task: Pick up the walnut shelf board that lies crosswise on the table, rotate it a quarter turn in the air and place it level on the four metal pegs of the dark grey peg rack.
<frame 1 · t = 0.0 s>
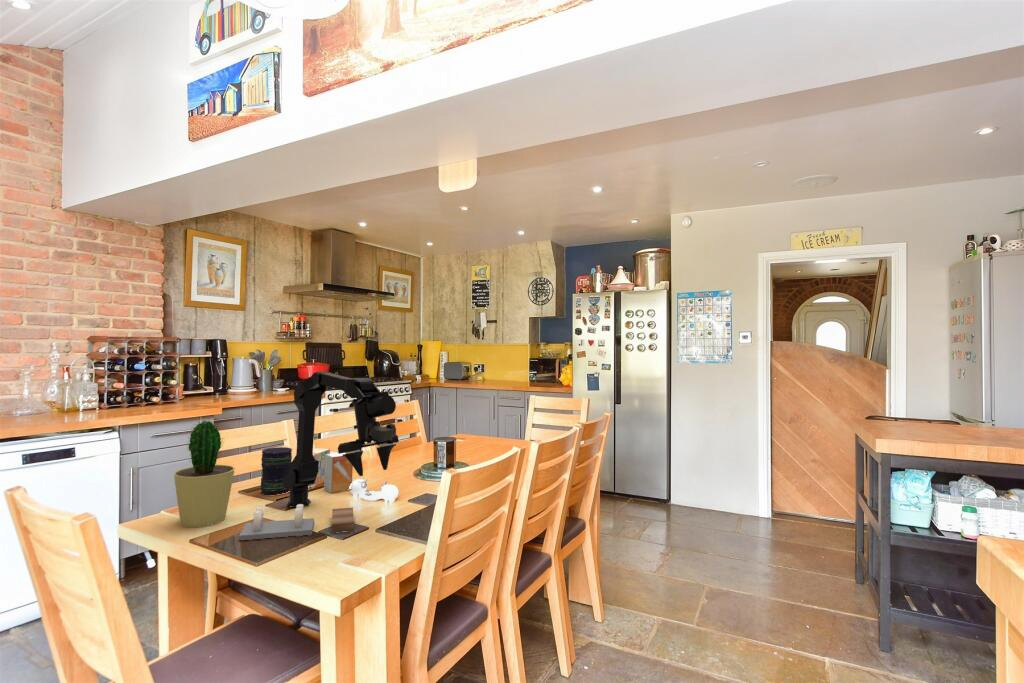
hand: (373, 472, 147), 15 cm above the table, tool pointing down, fingers open, 9 cm apart
patterned carton: (319, 481, 195), on the table
storage jar: (275, 492, 179), on the table
potted cactus: (203, 521, 148), on the table
small box: (338, 490, 183), on the table
shelf board: (342, 525, 148), on the table
peg rack: (278, 531, 140), on the table
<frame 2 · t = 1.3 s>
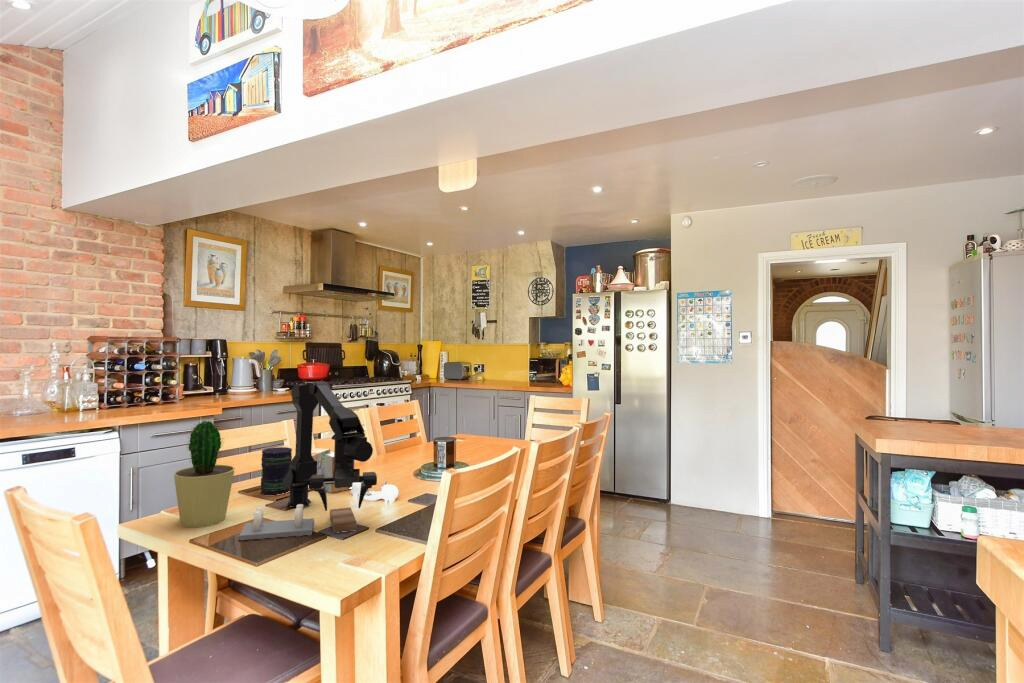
hand: (342, 509, 148), 4 cm above the table, tool pointing down, fingers open, 9 cm apart
nothing on the table moved.
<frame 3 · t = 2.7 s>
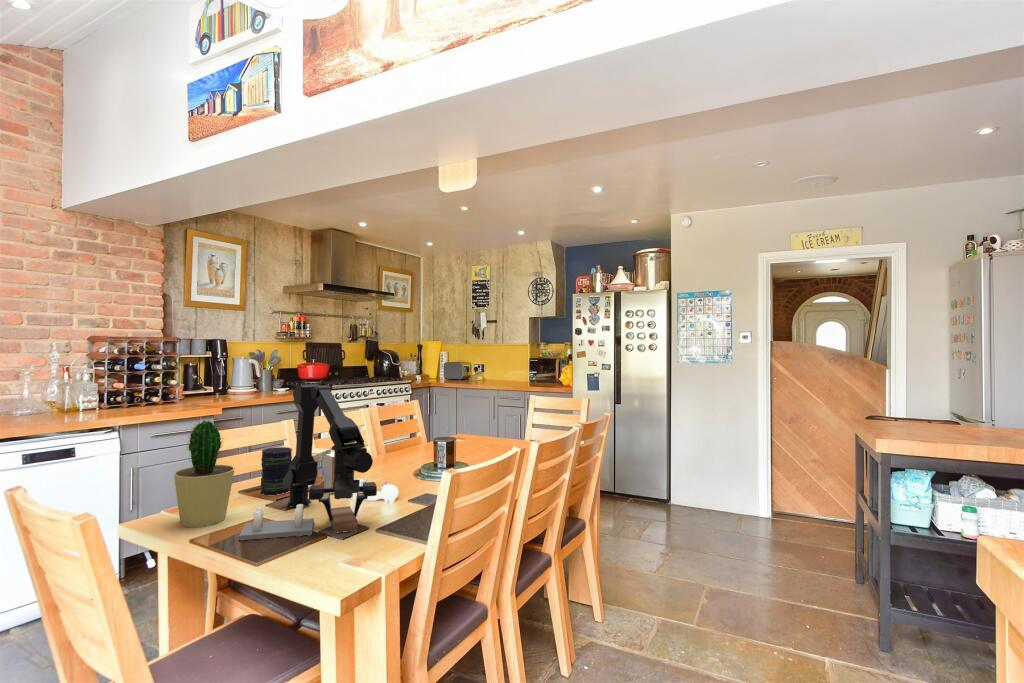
hand: (342, 520, 148), 1 cm above the table, tool pointing down, fingers closed on shelf board, 6 cm apart
shelf board: (342, 524, 148), on the table, touching gripper
everything else where it was.
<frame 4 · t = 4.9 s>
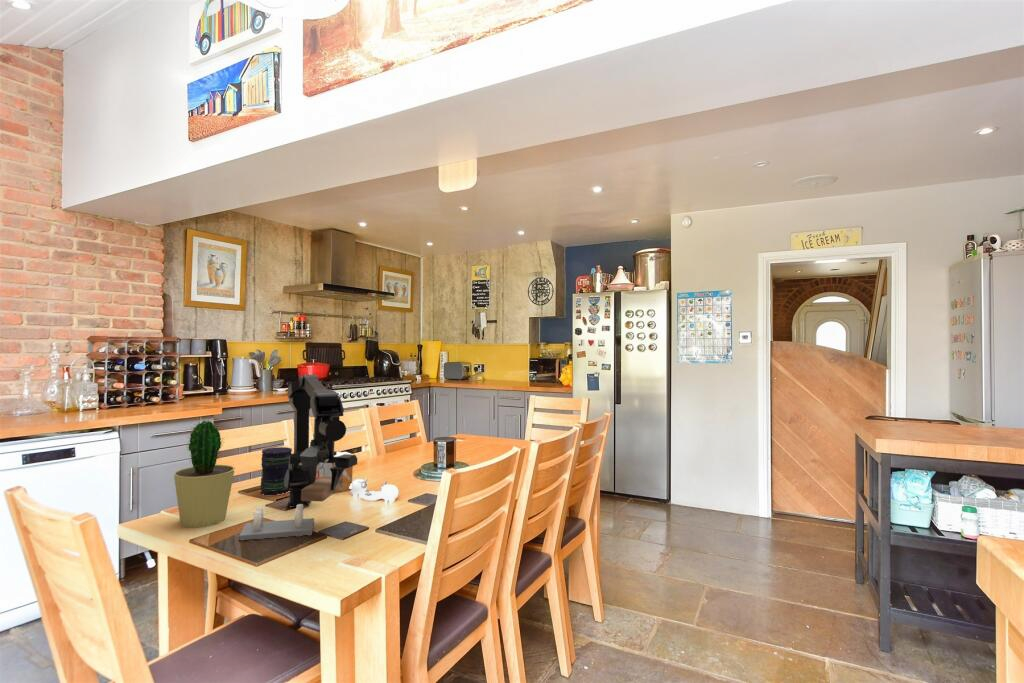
hand: (322, 489, 146), 11 cm above the table, tool pointing down, fingers closed on shelf board, 6 cm apart
shelf board: (322, 493, 145), point 9 cm above the table, touching gripper
everything else where it was.
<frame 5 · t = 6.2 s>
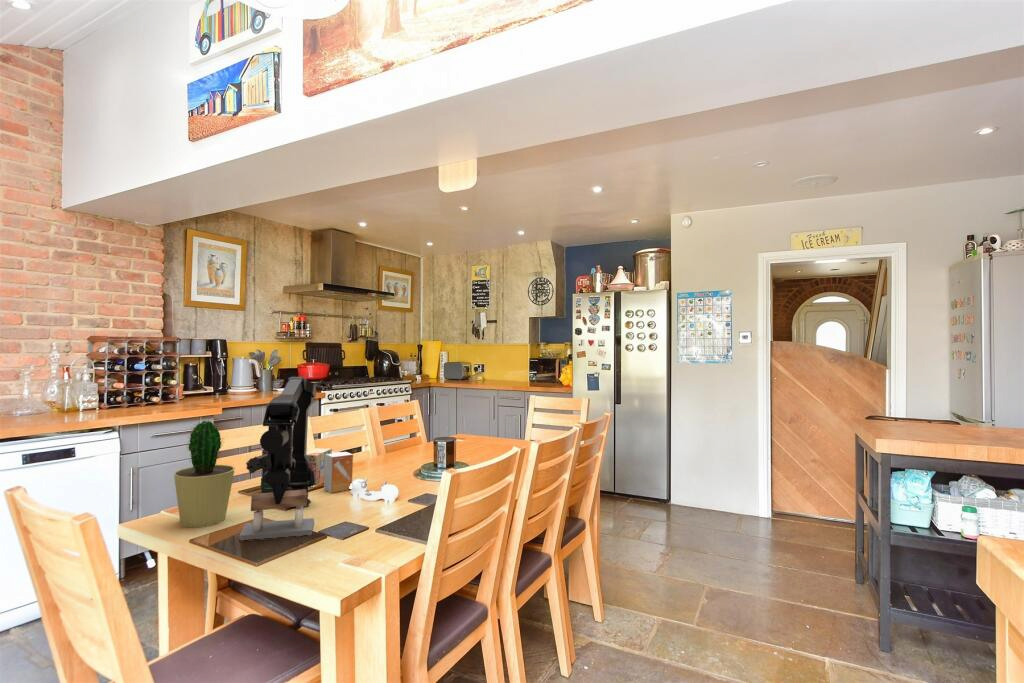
hand: (279, 500, 141), 9 cm above the table, tool pointing down, fingers closed on shelf board, 6 cm apart
shelf board: (279, 505, 141), point 7 cm above the table, touching gripper
everything else where it was.
when the fingers open (9 cm above the table, at t = 7.3 s): shelf board stays where it is, resting on peg rack.
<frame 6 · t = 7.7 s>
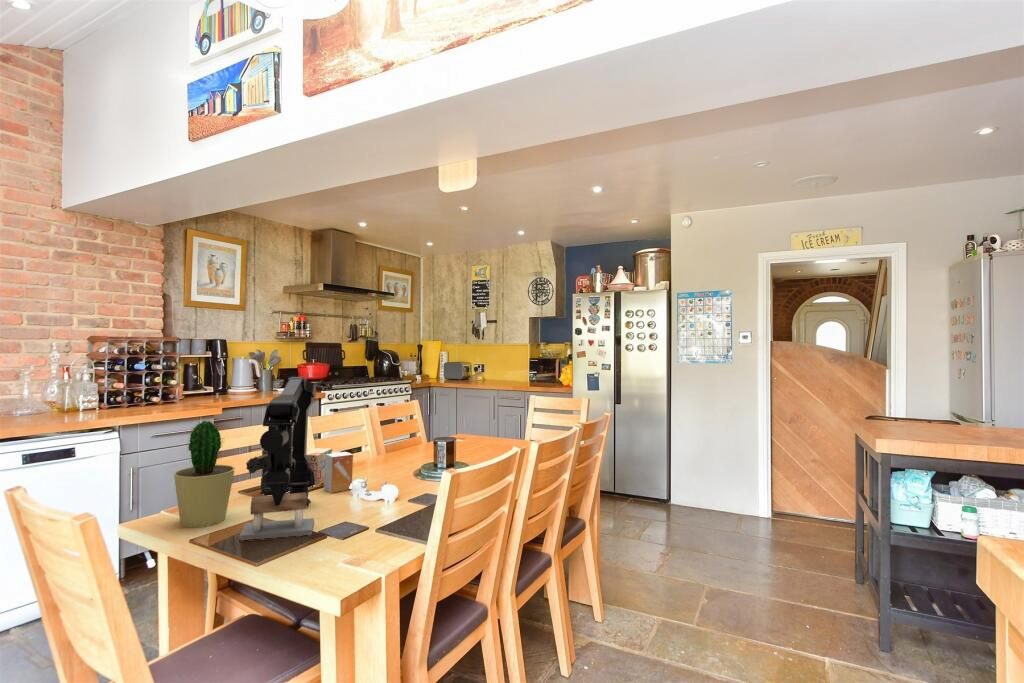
hand: (279, 500, 141), 9 cm above the table, tool pointing down, fingers open, 9 cm apart
shelf board: (279, 508, 141), point 6 cm above the table, touching peg rack
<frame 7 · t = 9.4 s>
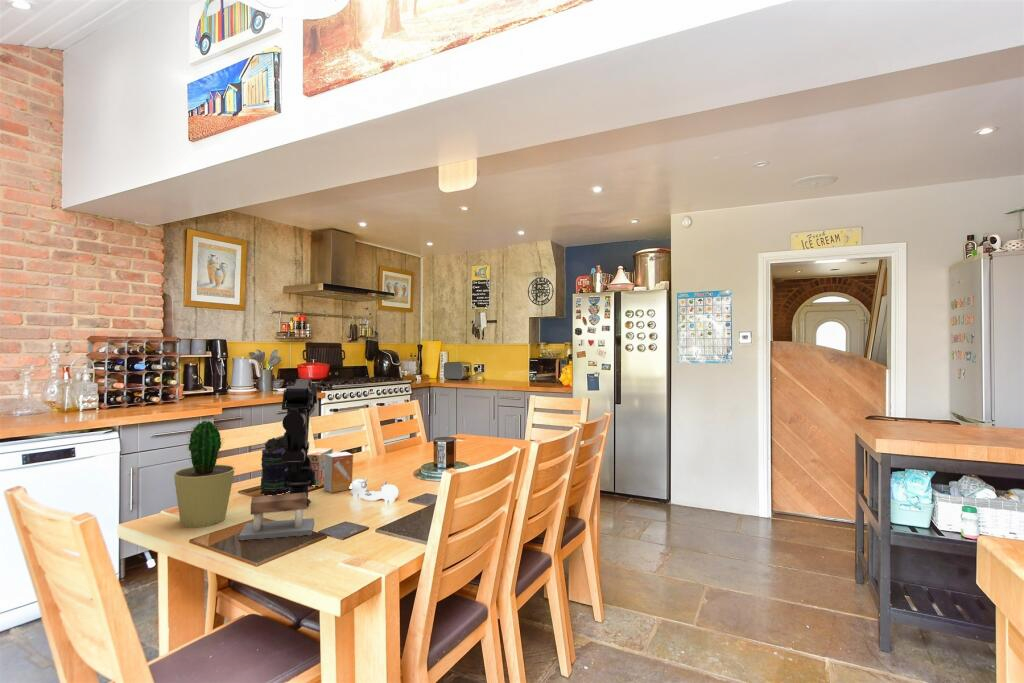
hand: (295, 478, 152), 12 cm above the table, tool pointing down, fingers open, 9 cm apart
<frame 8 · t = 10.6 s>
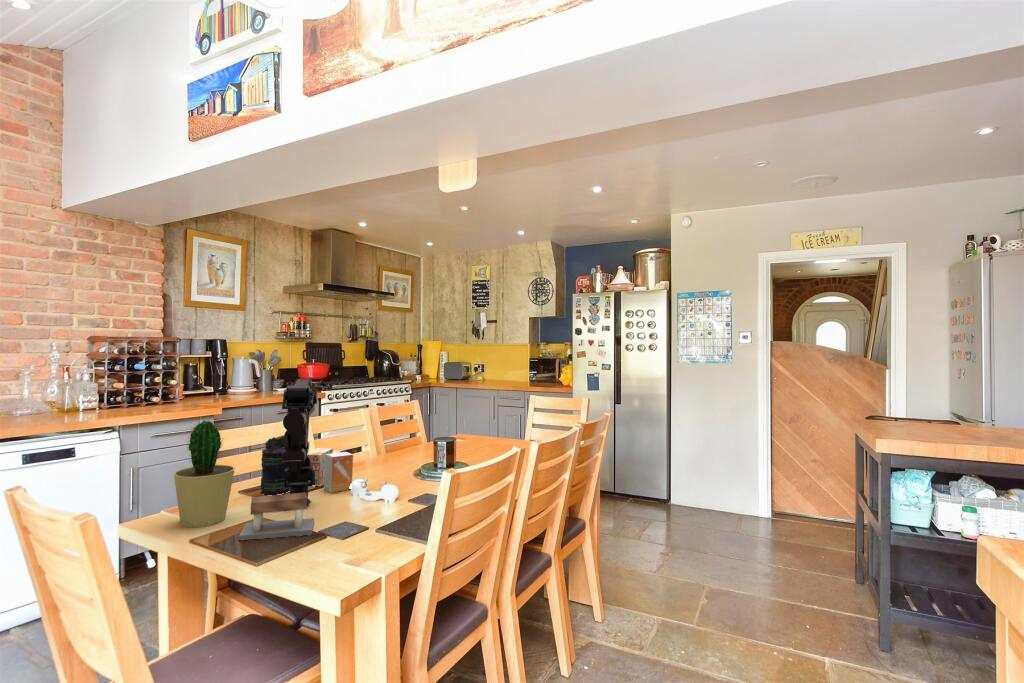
hand: (295, 478, 152), 12 cm above the table, tool pointing down, fingers open, 9 cm apart
at the end: shelf board 0.0 cm off-centre on the peg rack, point 6.5 cm above the peg rack's base; shelf board tilted 0°; the gripper is holding nothing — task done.
